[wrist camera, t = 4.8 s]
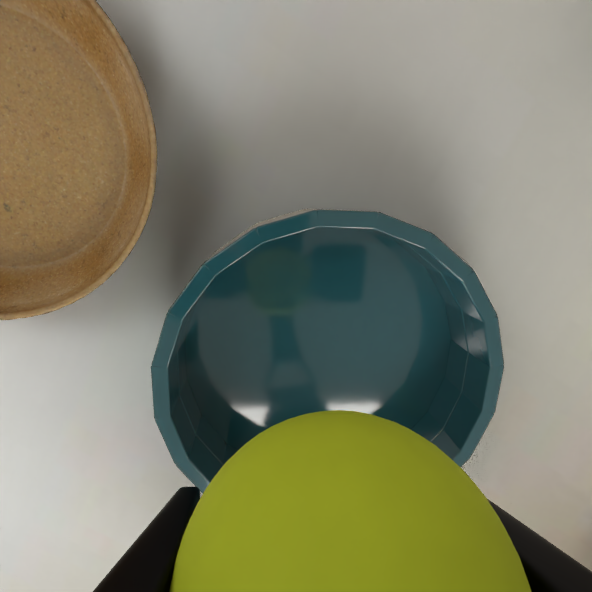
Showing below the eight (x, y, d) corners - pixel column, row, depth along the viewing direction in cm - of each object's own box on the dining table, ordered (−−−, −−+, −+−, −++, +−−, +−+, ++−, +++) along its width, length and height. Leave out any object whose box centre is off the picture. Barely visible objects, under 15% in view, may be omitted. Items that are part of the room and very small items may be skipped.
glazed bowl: (435, 468, 23) (472, 525, 19) (181, 476, 21) (161, 541, 17) (475, 215, 19) (534, 218, 15) (168, 202, 17) (139, 201, 13)
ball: (412, 551, 10) (603, 994, 5) (202, 560, 10) (113, 1086, 4) (445, 361, 9) (792, 663, 3) (198, 358, 8) (46, 730, 2)
